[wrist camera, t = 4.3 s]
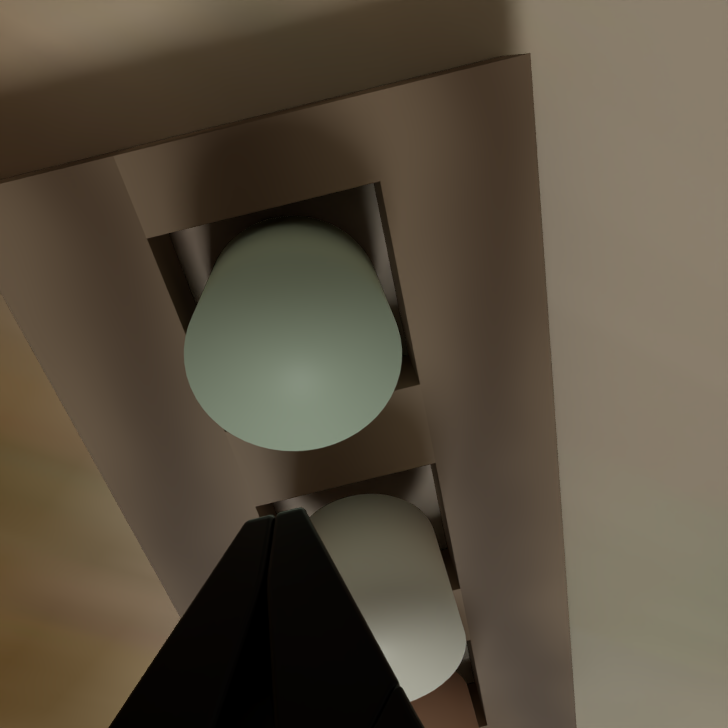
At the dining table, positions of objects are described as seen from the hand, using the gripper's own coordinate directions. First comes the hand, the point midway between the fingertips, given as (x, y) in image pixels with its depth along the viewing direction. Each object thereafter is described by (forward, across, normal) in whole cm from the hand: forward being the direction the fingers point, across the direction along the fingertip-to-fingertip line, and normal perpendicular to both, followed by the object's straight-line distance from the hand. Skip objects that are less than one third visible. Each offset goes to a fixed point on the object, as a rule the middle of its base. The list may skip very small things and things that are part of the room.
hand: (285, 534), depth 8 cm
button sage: (+10, 0, 0) cm, 10 cm away
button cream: (+8, 0, +9) cm, 12 cm away
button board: (+10, 0, +9) cm, 14 cm away
